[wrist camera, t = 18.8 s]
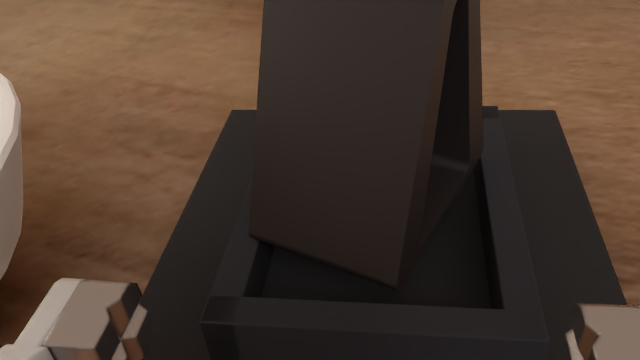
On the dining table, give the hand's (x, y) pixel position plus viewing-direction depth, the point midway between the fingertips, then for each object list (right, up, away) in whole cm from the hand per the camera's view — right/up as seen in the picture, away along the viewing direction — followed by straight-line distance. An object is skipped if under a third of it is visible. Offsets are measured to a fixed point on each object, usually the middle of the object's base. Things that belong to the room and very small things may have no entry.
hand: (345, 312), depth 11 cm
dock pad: (+2, 0, +14) cm, 15 cm away
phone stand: (+2, +2, +13) cm, 13 cm away
